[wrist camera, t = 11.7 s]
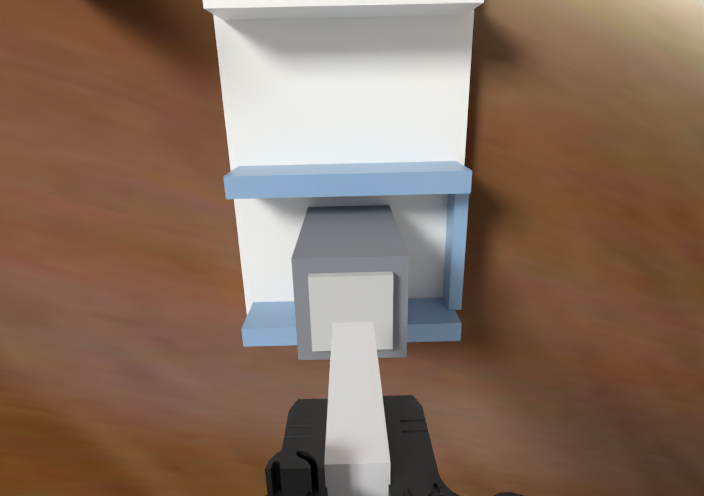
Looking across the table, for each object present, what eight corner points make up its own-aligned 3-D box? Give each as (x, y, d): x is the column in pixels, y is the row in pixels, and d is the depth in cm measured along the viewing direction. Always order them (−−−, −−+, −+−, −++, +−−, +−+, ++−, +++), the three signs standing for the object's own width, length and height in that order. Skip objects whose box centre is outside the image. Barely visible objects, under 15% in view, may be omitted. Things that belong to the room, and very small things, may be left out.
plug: (308, 206, 27) (290, 262, 18) (389, 205, 27) (410, 259, 18) (312, 281, 29) (297, 365, 20) (388, 279, 29) (407, 362, 20)
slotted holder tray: (190, -237, 21) (151, -321, 17) (484, -242, 21) (520, -327, 17) (251, 322, 31) (236, 359, 27) (450, 317, 31) (467, 353, 27)
